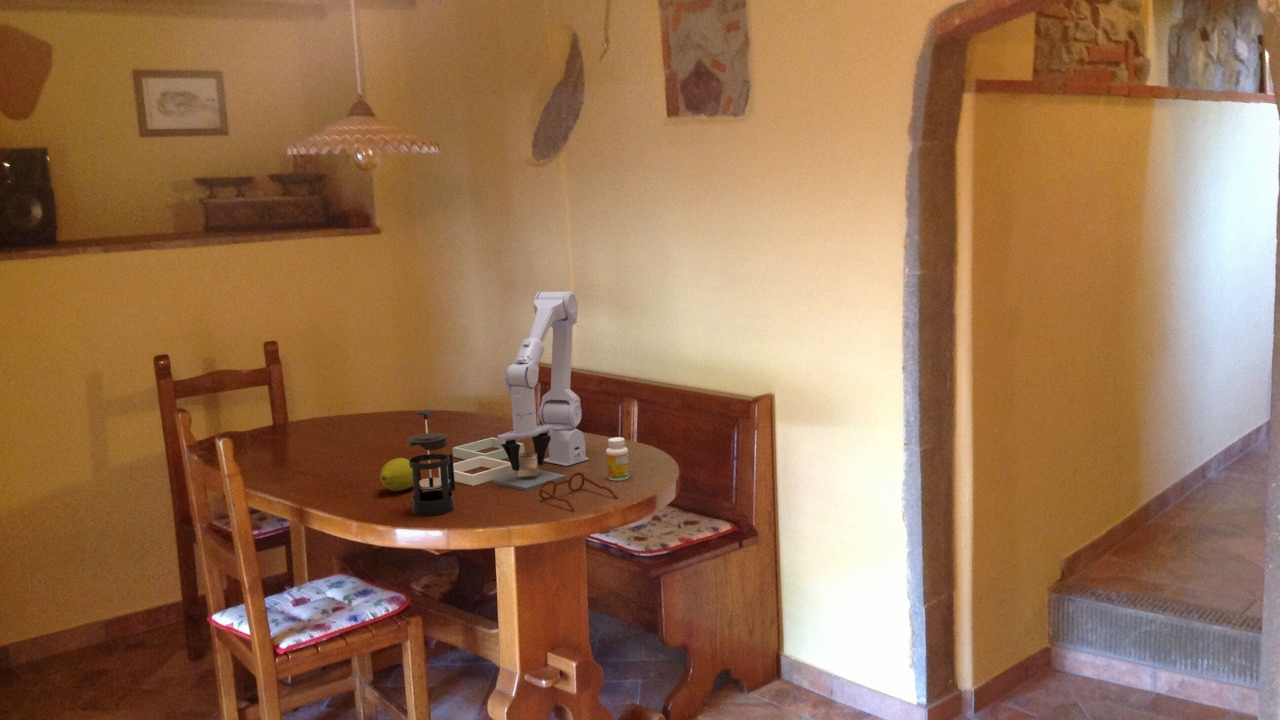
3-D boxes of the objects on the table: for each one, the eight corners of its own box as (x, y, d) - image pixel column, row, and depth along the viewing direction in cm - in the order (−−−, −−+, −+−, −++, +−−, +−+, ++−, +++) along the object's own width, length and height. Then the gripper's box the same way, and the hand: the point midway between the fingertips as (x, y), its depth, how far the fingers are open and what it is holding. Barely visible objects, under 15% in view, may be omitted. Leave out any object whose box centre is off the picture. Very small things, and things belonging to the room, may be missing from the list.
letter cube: (538, 470, 274) (537, 452, 273) (536, 475, 270) (535, 457, 269) (520, 471, 274) (519, 453, 274) (517, 476, 270) (516, 458, 269)
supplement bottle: (604, 477, 272) (602, 438, 271) (625, 474, 274) (622, 435, 273) (611, 482, 267) (609, 442, 266) (632, 479, 269) (630, 440, 268)
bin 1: (524, 452, 300) (524, 443, 300) (485, 463, 291) (484, 454, 290) (492, 446, 310) (492, 437, 309) (453, 456, 300) (452, 447, 300)
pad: (566, 478, 273) (566, 475, 272) (525, 491, 263) (525, 487, 263) (531, 470, 282) (531, 467, 281) (491, 482, 272) (490, 479, 272)
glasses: (583, 490, 263) (581, 469, 263) (619, 500, 254) (618, 479, 253) (538, 503, 255) (537, 482, 254) (574, 514, 245) (572, 492, 244)
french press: (430, 519, 245) (421, 417, 241) (401, 513, 251) (392, 413, 247) (468, 505, 254) (460, 406, 251) (439, 499, 260) (431, 403, 256)
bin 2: (515, 473, 280) (515, 463, 280) (472, 485, 270) (472, 475, 270) (481, 465, 289) (481, 455, 289) (439, 477, 280) (438, 467, 279)
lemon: (404, 483, 276) (401, 452, 274) (426, 487, 271) (424, 455, 270) (370, 495, 267) (367, 462, 266) (393, 499, 263) (390, 466, 261)
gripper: (540, 405, 277) (543, 458, 279) (489, 415, 268) (493, 470, 271) (556, 409, 272) (559, 463, 274) (504, 419, 263) (508, 475, 265)
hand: (527, 467), depth 272 cm, fingers closed on letter cube, 6 cm apart
